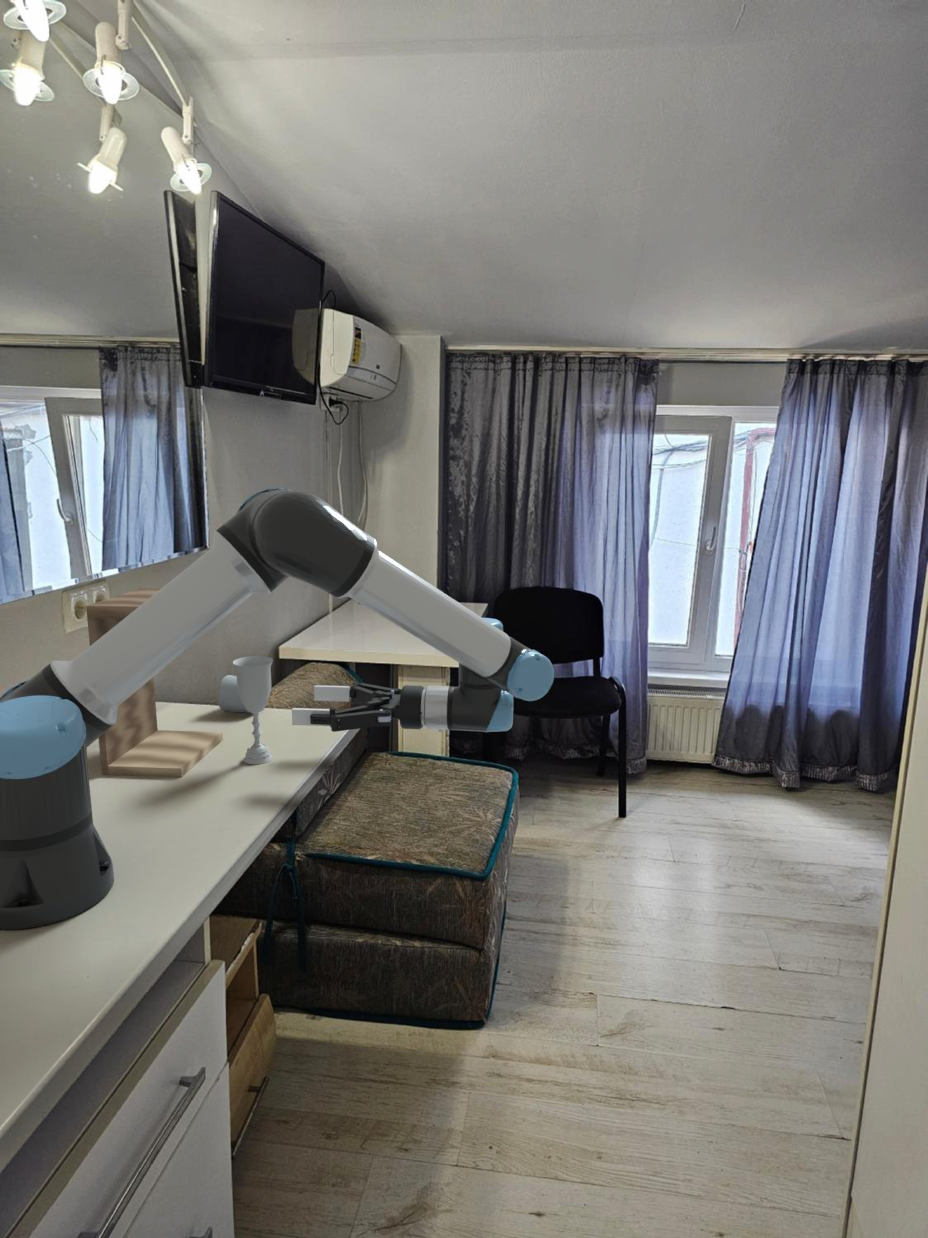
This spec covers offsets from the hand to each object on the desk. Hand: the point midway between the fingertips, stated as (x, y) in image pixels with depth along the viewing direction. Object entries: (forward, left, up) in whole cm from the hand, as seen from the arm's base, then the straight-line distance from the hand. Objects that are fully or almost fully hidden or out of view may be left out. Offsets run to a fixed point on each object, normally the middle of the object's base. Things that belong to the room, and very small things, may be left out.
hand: (303, 704), depth 134 cm
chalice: (-4, +7, -11) cm, 14 cm away
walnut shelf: (-13, +22, -10) cm, 28 cm away
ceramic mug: (+13, +32, -11) cm, 36 cm away
